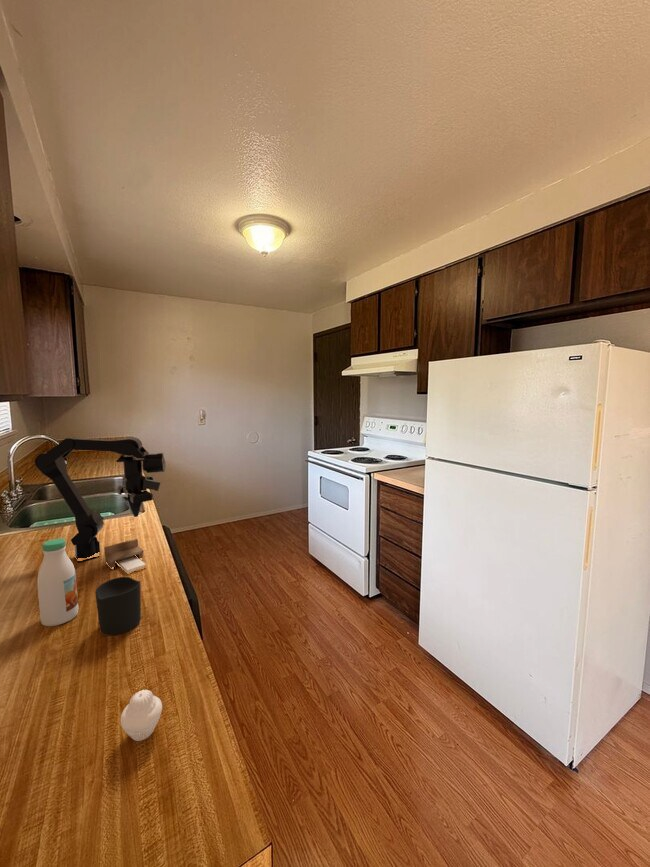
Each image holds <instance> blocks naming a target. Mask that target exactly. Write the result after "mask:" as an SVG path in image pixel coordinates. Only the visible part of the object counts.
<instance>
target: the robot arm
mask: <svg viewBox="0 0 650 867" xmlns="http://www.w3.org/2000/svg"><path fill="white" fill-rule="evenodd" d="M74 450H75V451H78V450H80V451H97V452H98V451H100V452H112V453H115V454H119V455H120V456H119V458H118V459H117V460H116V461H115V462H117V463H123V476H122V480H123V481H124V484H123V485H122V484H121V485H119V486H118V487H117V489H116V490H117V494H118V495H119V496H120V495H123V494H124V495H125V496H123V497H122V499H123V500H124V502H125V504H126V505H127V507H128V508H129V511H130V513H131V514H132V516H133V517H134V518H138V517H139V515H140V514H139V513H140V509H141V506H142V503H145V502H150V501H153V500H154V498H153V493H151V492H150V491H148V490H153V491H156V492H157V491H159V489H160V485H161V481H158V480H155V479H154V478H153V477H152V476H148V475H147V476H145V475H144V474H143V471H144V472H146V473H147V474H151V473H152V474H153V473H165V471H166V460H165V457H164V456H165V455H164V453H163V452H159V453H149V451H148V450H147V449H146V448H145V447H143V443H142V440H140V438H138V437H135V436H133V437H125V438H117V439H116V438H115V439H108V438H107V439H104V438H102V439H101V438H87V437H85V438H84V437H83V438H82V437H75V436H70V437H66V438H64V439H63V440H62V441H61V442H59V443H58V444H57V445H55V446H54V447H52V448H51V449H49V450H47V451H46V452H43V453H40V454H37V456H36V457H35V459H34V462H33V463H34V466H35V467H36V469H37V470H38V471H40V473H41V474H42V475H43V476H46V477H47V478H49V479H50V480H51V482H52V483H53V484H54V485H55V487H56V489H57V490H58V492H59V493H60V496H61V497H62V499H63V501H65V503H66V505H67V506H68V508H69V510H70V511H71V512H72V514H73V516H74V522H75V527H76V530H77V533H76V534H75V535H74V536H73V537H72V538H71V539H70V541H71V543H72V545H73V546H74V554H75V556H76V558H77V559H78V558H87V557H90V556H92V555H94V554H95V553H98V552H100V553H101V546H100V541H99V540H98V537H96V536H98V535H99V532H100V531H102V529H103V528H104V525H105V523H104V519H105V517H103V516H102V515H101V513H100V510H99V509H95V511H94V510H92V509H91V508H90V507H89V506H88V505H87V503H86V501H85V499H84V498H83V496H82V494H81V493H80V492H79V490H78V488H77V487H76V485H75V483H74V482H73V480H72V478H71V477H70V476H69V474H68V469H67V462H66V461H65V459H66V457H68V456H69V455H70V454H71V453H72V452H73V451H74Z"/></svg>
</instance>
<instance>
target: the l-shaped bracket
mask: <svg viewBox="0 0 650 867" xmlns="http://www.w3.org/2000/svg"><path fill="white" fill-rule="evenodd" d="M103 550H104V560H105V562H107V563H108V565H109V566H110V567H111V568H112V567H115V568H116V564H115V561H116V560H120V559H123V558H126V557H130V556H133V555H136V556H137V557H138V558H139V559H140V558H143V559H144V555H143V553H144V550H143V549H142V548H141V547H140V546H139V541H138V538H134V539H130V540H127V541H122V542H119V543H115V544H112V545H111V544H110V545H107V546H104V549H103Z"/></svg>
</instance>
